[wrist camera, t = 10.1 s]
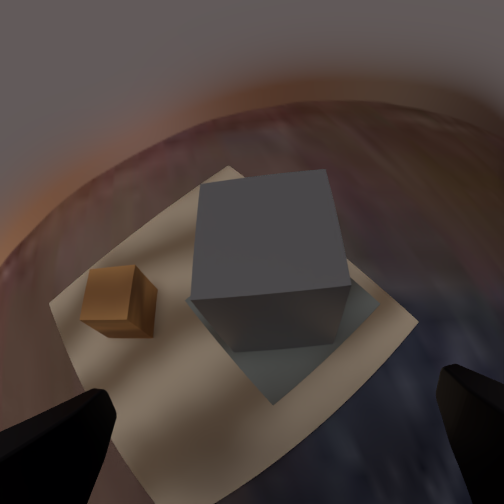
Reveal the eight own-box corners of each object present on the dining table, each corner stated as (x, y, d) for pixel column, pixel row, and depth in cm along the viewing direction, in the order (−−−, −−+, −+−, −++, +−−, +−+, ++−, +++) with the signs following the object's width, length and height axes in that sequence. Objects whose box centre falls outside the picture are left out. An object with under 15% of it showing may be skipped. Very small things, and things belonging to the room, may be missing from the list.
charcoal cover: (333, 343, 20) (351, 285, 12) (233, 352, 21) (190, 299, 13) (321, 257, 23) (325, 169, 16) (233, 266, 24) (200, 183, 16)
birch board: (416, 324, 20) (419, 321, 19) (176, 524, 15) (173, 526, 14) (229, 169, 31) (228, 164, 30) (52, 305, 25) (48, 303, 25)
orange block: (153, 338, 22) (126, 319, 19) (108, 338, 22) (79, 319, 19) (157, 289, 24) (135, 264, 21) (115, 292, 25) (89, 269, 21)
